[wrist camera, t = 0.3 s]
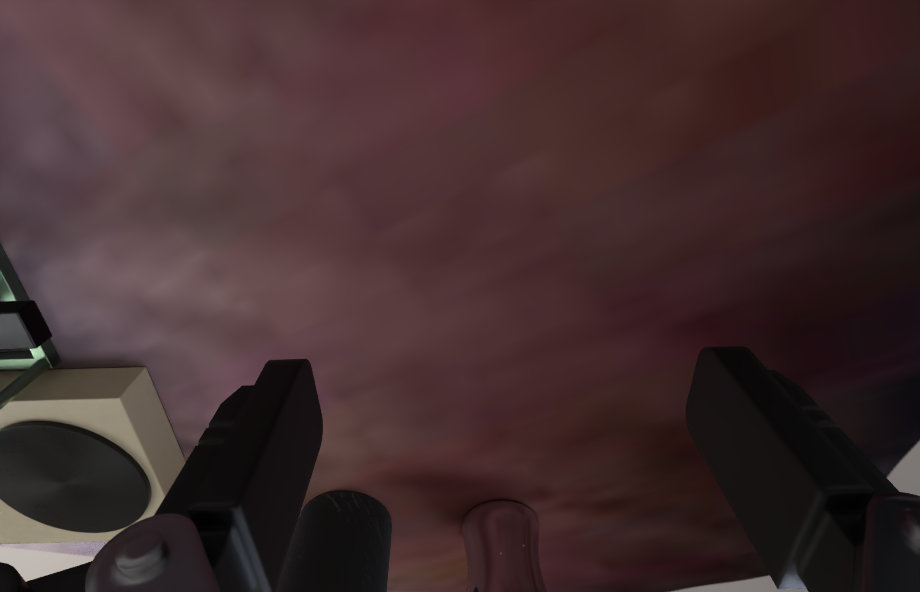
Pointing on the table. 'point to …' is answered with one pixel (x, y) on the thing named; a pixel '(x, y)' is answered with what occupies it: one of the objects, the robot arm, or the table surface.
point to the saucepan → (22, 325)
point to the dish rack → (8, 288)
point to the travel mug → (339, 546)
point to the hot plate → (105, 413)
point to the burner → (70, 478)
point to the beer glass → (502, 548)
